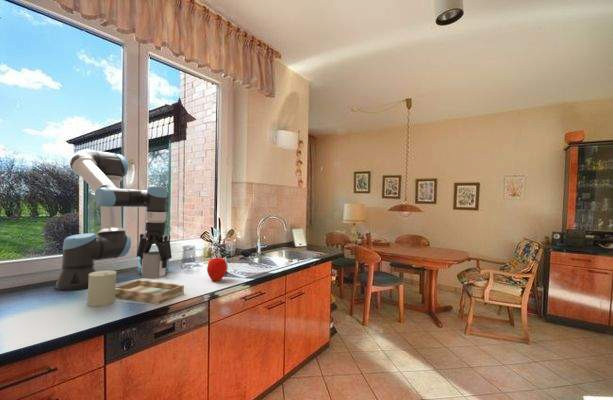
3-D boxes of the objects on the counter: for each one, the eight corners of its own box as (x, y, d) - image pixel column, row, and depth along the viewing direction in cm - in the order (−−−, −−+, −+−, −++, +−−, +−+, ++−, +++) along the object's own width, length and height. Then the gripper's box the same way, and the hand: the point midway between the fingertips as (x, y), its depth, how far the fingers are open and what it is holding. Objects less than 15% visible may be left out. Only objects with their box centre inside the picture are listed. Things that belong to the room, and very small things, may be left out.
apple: (215, 284, 144) (216, 259, 144) (202, 280, 149) (203, 257, 149) (230, 280, 153) (231, 257, 153) (216, 277, 158) (217, 254, 158)
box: (110, 296, 120) (110, 288, 120) (139, 286, 134) (139, 279, 134) (158, 304, 114) (159, 295, 114) (183, 293, 129) (184, 285, 129)
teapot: (132, 274, 155) (133, 250, 155) (161, 269, 168) (162, 247, 168) (149, 280, 145) (150, 255, 145) (178, 275, 158) (179, 251, 158)
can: (93, 308, 107) (94, 276, 107) (82, 302, 112) (84, 272, 112) (120, 301, 115) (121, 271, 115) (108, 296, 120) (110, 268, 120)
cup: (154, 279, 119) (155, 255, 119) (137, 277, 121) (138, 253, 121) (168, 274, 127) (169, 252, 127) (151, 273, 129) (153, 250, 129)
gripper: (128, 220, 123) (125, 273, 123) (170, 223, 118) (167, 279, 118) (142, 219, 130) (139, 270, 130) (182, 222, 125) (180, 274, 125)
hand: (153, 274), depth 124 cm, fingers closed on cup, 8 cm apart
